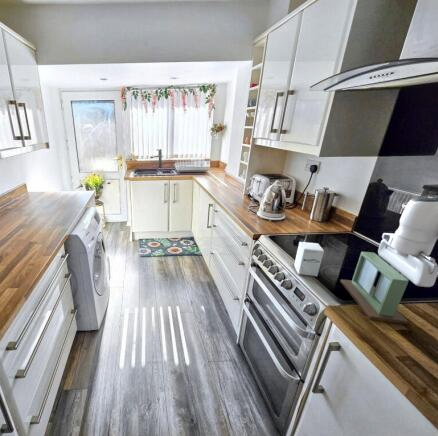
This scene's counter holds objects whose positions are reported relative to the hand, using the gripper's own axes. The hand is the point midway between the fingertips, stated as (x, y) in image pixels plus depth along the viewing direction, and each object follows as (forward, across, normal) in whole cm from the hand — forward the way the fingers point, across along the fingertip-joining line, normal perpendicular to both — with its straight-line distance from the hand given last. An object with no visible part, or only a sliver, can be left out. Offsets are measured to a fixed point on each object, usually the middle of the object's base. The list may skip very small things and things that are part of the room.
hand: (396, 281), depth 81 cm
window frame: (+10, +2, +4) cm, 11 cm away
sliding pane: (+7, -2, +2) cm, 8 cm away
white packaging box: (+10, +18, +20) cm, 29 cm away
